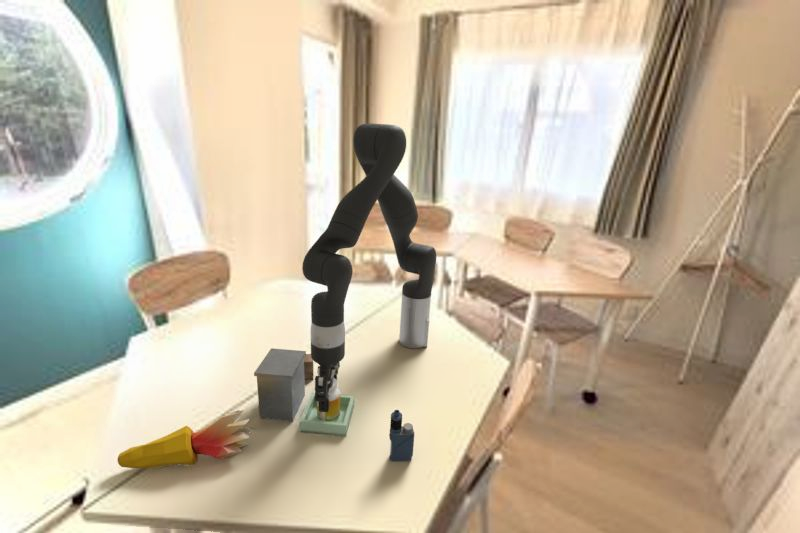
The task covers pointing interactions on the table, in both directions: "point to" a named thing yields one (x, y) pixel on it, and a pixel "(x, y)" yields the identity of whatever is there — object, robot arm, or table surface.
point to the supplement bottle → (331, 405)
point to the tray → (339, 427)
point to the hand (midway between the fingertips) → (328, 399)
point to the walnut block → (308, 367)
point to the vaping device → (400, 438)
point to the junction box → (281, 384)
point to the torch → (190, 445)
